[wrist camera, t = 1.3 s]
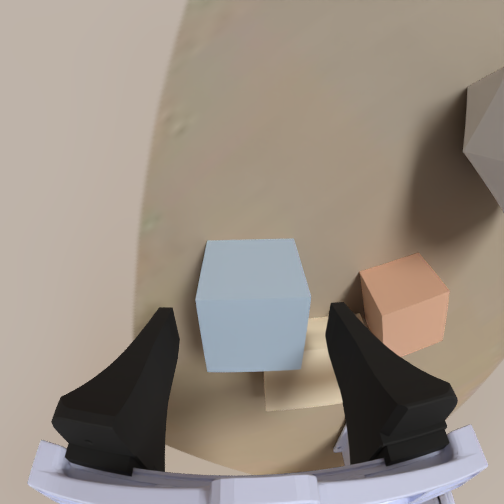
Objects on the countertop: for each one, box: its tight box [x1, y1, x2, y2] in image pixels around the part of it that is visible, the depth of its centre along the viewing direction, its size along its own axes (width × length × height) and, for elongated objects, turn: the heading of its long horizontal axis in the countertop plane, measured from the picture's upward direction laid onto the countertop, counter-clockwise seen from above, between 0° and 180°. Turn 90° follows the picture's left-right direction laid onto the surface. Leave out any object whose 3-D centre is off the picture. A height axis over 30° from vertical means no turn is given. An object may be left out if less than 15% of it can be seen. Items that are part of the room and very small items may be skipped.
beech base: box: [263, 313, 365, 411], centre depth 20 cm, size 6×6×3 cm
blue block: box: [195, 239, 311, 372], centre depth 15 cm, size 4×4×5 cm
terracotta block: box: [359, 253, 450, 357], centre depth 17 cm, size 4×4×4 cm
